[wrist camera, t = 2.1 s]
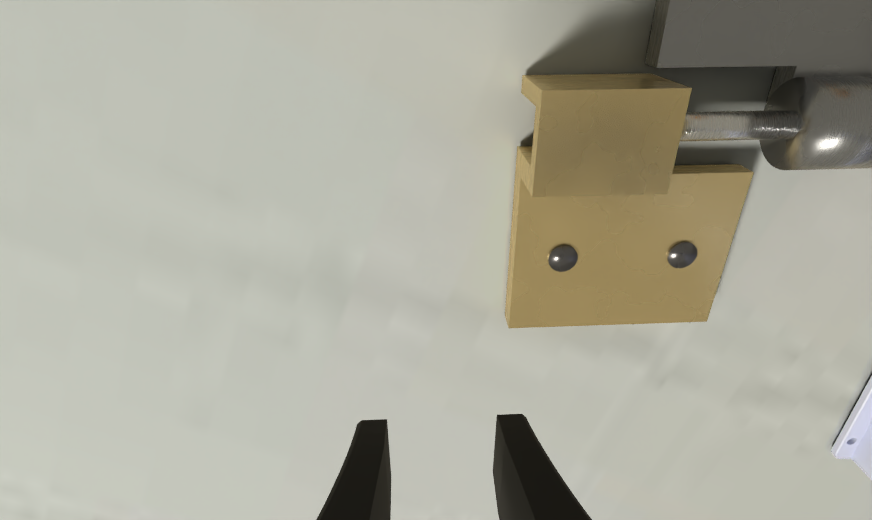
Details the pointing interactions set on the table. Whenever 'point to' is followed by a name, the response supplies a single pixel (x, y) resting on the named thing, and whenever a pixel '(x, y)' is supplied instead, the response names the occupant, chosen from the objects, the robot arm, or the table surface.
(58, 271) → the table surface
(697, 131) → the fixed leaf
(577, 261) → the tan hinge plate
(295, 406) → the table surface
